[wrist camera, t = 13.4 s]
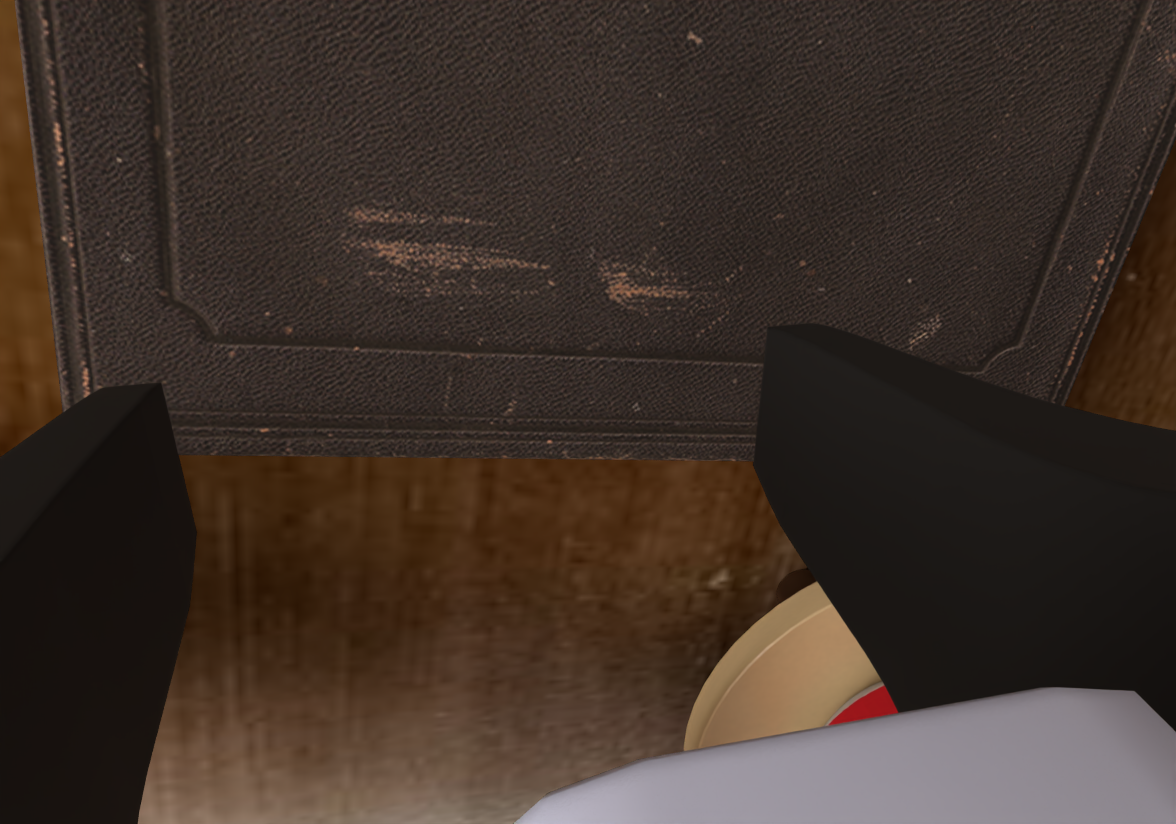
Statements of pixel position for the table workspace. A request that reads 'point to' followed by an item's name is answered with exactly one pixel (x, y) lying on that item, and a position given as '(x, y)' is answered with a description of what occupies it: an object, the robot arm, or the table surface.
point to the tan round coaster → (782, 671)
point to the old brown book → (574, 206)
